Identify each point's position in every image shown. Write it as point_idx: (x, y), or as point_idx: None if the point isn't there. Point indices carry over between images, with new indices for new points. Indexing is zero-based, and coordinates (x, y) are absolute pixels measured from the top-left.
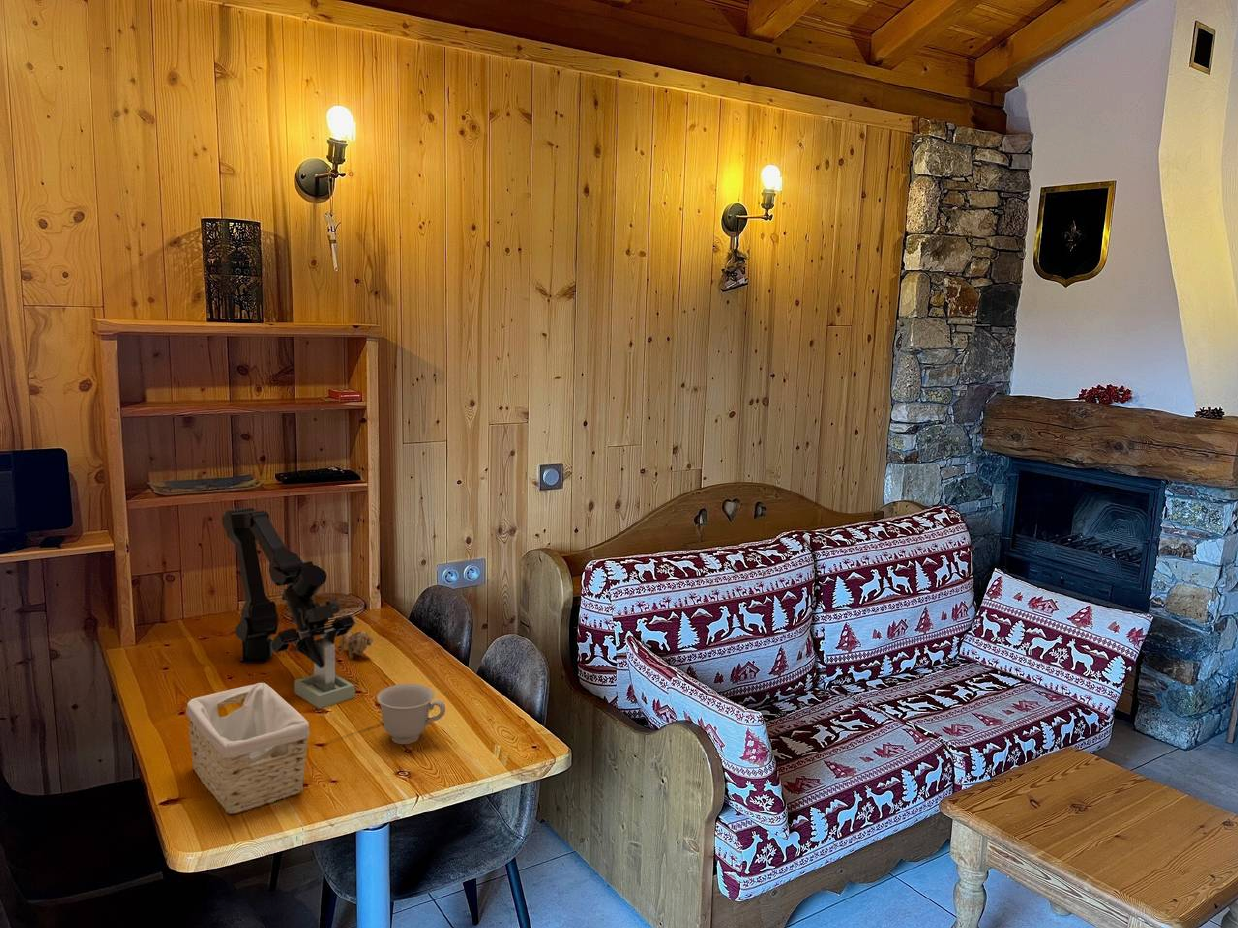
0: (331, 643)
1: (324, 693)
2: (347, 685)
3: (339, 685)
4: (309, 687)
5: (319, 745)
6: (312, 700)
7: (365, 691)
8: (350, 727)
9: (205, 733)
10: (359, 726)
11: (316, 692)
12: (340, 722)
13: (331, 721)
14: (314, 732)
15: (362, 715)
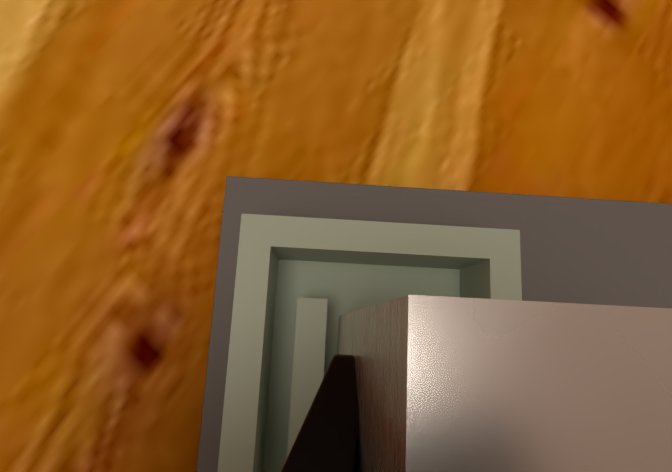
0: (448, 412)
1: (471, 241)
2: (279, 244)
3: (265, 367)
4: None
5: (613, 5)
6: None
7: (114, 326)
8: (428, 42)
9: None
10: (392, 23)
11: (504, 294)
12: (435, 112)
13: (462, 149)
14: (577, 112)
15: (315, 99)
